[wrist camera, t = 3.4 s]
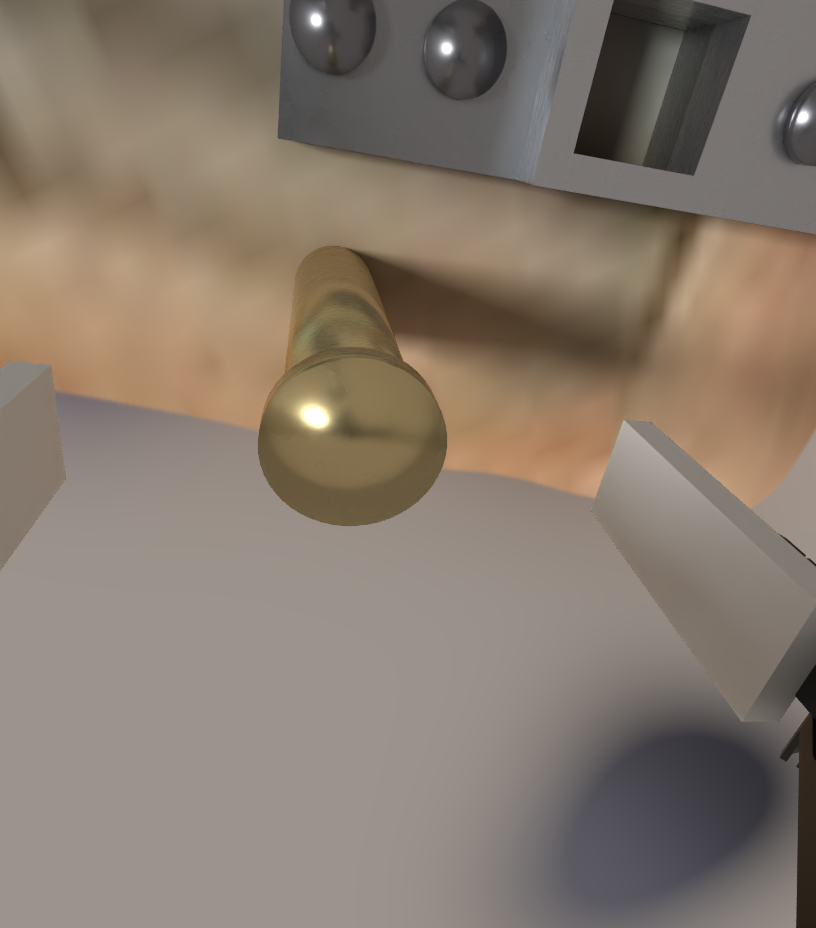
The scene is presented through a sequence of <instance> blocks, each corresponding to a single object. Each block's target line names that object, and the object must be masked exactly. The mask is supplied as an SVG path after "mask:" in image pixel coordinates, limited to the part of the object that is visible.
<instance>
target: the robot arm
mask: <svg viewBox="0 0 816 928" xmlns="http://www.w3.org/2000/svg"><path fill="white" fill-rule="evenodd" d="M65 480H66V474H65V466H64V459H63V451H62V444H61V436H60V429H59V422H58V414H57V407H56V400H55V392H54V384H53V377H52V370H51V365H46V364H35V363H25V362H14V361H9V362H8V363H7V364H6V365H4V366H3V367H2V368H0V570H1V569H2V568H3V566H4V565H5V563H6V562H7V561H8V559H9V558H10V556H11V555H12V554H13V552H14V551H15V549H16V548H17V547H18V545H19V544H20V542H21V541H22V540H23V538H24V537H25V535H26V534H27V533H28V531H29V530H30V528H31V527H32V526H33V524H34V523H35V521H36V520H37V519H38V517H39V516H40V515H41V513H42V512H43V510H44V509H45V508H46V506H47V505H48V503H49V502H50V500H51V499H52V498H53V496H54V495H55V494H56V492H57V491H58V489H59V488H60V487H61V485H62V484H63V482H64V481H65ZM591 512H592V514H593V515H594V516H595V518H596V519H597V521H598V522H599V523H600V525H601V526H602V528H603V529H604V530H605V532H606V533H607V534H608V536H609V537H610V539H611V540H612V542H613V543H614V544H615V546H616V547H617V549H618V550H619V551H620V553H621V554H622V556H623V557H624V558H625V560H626V561H627V562H628V564H629V565H630V566H631V568H632V569H633V571H634V572H635V574H636V575H637V576H638V578H639V579H640V581H641V582H642V583H643V585H644V586H645V588H646V589H647V590H648V592H649V593H650V594H651V596H652V597H653V599H654V600H655V602H656V603H657V604H658V606H659V607H660V608H661V609H662V611H663V613H664V614H665V616H666V617H667V618H668V620H669V621H670V622H671V624H672V625H673V627H674V628H675V629H676V631H677V632H678V634H679V635H680V636H681V638H682V639H683V641H684V642H685V643H686V645H687V646H688V648H689V649H690V650H691V652H692V653H693V654H694V656H695V657H696V659H697V660H698V662H699V663H700V664H701V666H702V667H703V669H704V670H705V671H706V673H707V674H708V676H709V677H710V678H711V680H712V681H713V682H714V684H715V685H716V686H717V688H718V689H719V691H720V692H721V694H722V695H723V696H724V698H725V699H726V701H727V702H728V703H729V705H730V706H731V708H732V709H733V710H734V712H735V713H736V715H737V716H738V717H739V719H740V720H741V721H742V722H764V721H766V722H768V721H780V719H781V718H782V716H783V715H784V713H785V712H786V710H787V709H788V707H789V706H790V704H791V703H792V702H793V700H794V699H795V697H797V698H798V700H799V701H800V702H801V703H802V704H803V705H804V707H805V708H806V709H807V710H808V711H809V714H808V716H807V717H806V718H805V720H804V721H803V722H802V724H801V725H800V727H799V728H798V730H797V731H796V732H795V734H794V735H793V737H792V738H791V739H790V741H789V742H788V744H787V745H786V747H785V748H784V749H783V751H782V753H781V756H780V758H781V759H783V760H785V761H787V760H788V759H789V757H790V756H791V755H792V754H793V753H798V752H799V763H798V764H797V766H796V767H798V768H799V796H798V857H797V858H798V859H797V917H796V918H797V919H796V928H816V564H815V563H814V562H813V561H812V560H811V559H809V558H806V557H805V556H806V555H805V554H804V553H803V552H801V551H800V550H799V549H798V548H797V547H795V546H794V545H793V544H792V543H791V542H790V541H789V540H788V539H786V538H785V537H783V536H782V535H780V534H778V533H777V532H776V531H774V530H773V529H772V528H771V527H770V526H769V525H768V524H767V523H765V522H764V521H763V520H762V519H761V518H760V517H759V516H757V515H756V514H755V513H754V512H753V511H752V510H751V509H749V508H748V507H747V506H746V505H745V504H744V503H743V502H741V501H740V500H739V499H738V498H737V497H736V496H735V495H734V494H732V493H731V492H730V491H729V490H728V489H727V488H726V487H724V486H723V485H722V484H721V483H720V482H719V481H718V480H716V479H715V478H714V477H713V476H712V475H711V474H710V473H708V472H707V471H706V470H705V469H704V468H703V467H702V466H700V465H699V464H698V463H697V462H696V461H695V460H694V459H692V458H691V457H690V456H689V455H688V454H687V453H686V452H685V451H683V450H682V449H681V448H680V447H679V446H678V445H677V444H675V443H674V442H673V441H672V440H671V439H670V438H669V437H667V436H666V435H665V434H664V433H663V432H662V431H661V430H659V429H658V428H657V427H656V426H655V425H654V424H653V423H651V422H642V421H632V420H624V421H623V423H622V426H621V429H620V432H619V434H618V437H617V440H616V443H615V445H614V448H613V451H612V454H611V456H610V459H609V462H608V465H607V467H606V470H605V473H604V476H603V478H602V481H601V484H600V487H599V489H598V492H597V495H596V498H595V500H594V503H593V506H592V509H591Z"/></svg>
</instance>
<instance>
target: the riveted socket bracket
mask: <svg viewBox="0 0 816 928" xmlns="http://www.w3.org/2000/svg"><path fill="white" fill-rule="evenodd" d="M610 13H615V14H619V15H623V16H627V17H631V18H635V19H639V20H643V21H647V22H652V23H656V24H660V25H664V26H668V27H672V28H676V29H680V30H685V34H684V37H683V41H682V44H681V47H680V50H679V53H678V56H677V60H676V63H675V66H674V69H673V72H672V75H671V78H670V82H669V85H668V88H667V91H666V94H665V97H664V101H663V104H662V107H661V110H660V113H659V116H658V119H657V123H656V126H655V129H654V132H653V135H652V138H651V142H650V145H649V148H648V151H647V154H646V157H645V161H644V164H643V166H638V165H633V164H627V163H622V162H617V161H611V160H606V159H601V158H595V157H590V156H585V155H580V154H574V149H575V145H576V142H577V138H578V134H579V130H580V126H581V123H582V119H583V115H584V111H585V107H586V104H587V100H588V96H589V92H590V88H591V85H592V81H593V77H594V73H595V69H596V66H597V62H598V58H599V54H600V50H601V47H602V43H603V39H604V35H605V31H606V28H607V24H608V20H609V16H610ZM278 138H279V139H285V140H291V141H296V142H302V143H308V144H313V145H319V146H325V147H331V148H336V149H342V150H348V151H353V152H359V153H365V154H371V155H376V156H382V157H388V158H393V159H399V160H405V161H411V162H416V163H422V164H428V165H433V166H439V167H445V168H451V169H456V170H462V171H468V172H473V173H479V174H485V175H491V176H496V177H502V178H508V179H513V180H518V181H521V182H524V183H528V184H531V185H535V186H541V187H547V188H552V189H558V190H564V191H570V192H575V193H581V194H587V195H593V196H598V197H604V198H610V199H616V200H621V201H627V202H633V203H638V204H644V205H650V206H656V207H661V208H667V209H673V210H679V211H684V212H690V213H696V214H702V215H707V216H713V217H719V218H725V219H730V220H736V221H742V222H748V223H753V224H759V225H765V226H771V227H776V228H782V229H788V230H793V231H799V232H805V233H811V234H816V0H284V12H283V34H282V56H281V77H280V99H279V120H278Z"/></svg>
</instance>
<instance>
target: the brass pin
mask: <svg viewBox="0 0 816 928" xmlns="http://www.w3.org/2000/svg"><path fill="white" fill-rule="evenodd" d="M446 449H447V432H446V425H445V421H444V418H443V415H442V412H441V410H440V408H439V405H438V403H437V401H436V399H435V397H434V394H433V392H432V390H431V389H430V387H429V386H428V384H427V383H426V381H425V380H424V379H423V378H422V376H421V375H420V374H419V373H418V372H417V371H416V370H415V369H413V368H412V367H411V366H410V365H409V364H407V363H405V362H404V361H403V359H402V356H401V354H400V351H399V348H398V345H397V343H396V340H395V337H394V335H393V332H392V329H391V327H390V324H389V321H388V318H387V316H386V313H385V310H384V308H383V305H382V302H381V299H380V297H379V294H378V291H377V289H376V286H375V283H374V281H373V278H372V275H371V272H370V270H369V268H368V266H367V265H366V263H365V262H364V261H363V259H362V258H361V257H360V256H359V255H357V254H356V253H354V252H353V251H351V250H349V249H346V248H344V247H339V246H327V247H322V248H319V249H317V250H315V251H313V252H311V253H310V254H309V255H308V256H307V257H305V259H304V260H303V261H302V262H301V264H300V266H299V268H298V270H297V273H296V277H295V285H294V294H293V303H292V312H291V321H290V330H289V339H288V348H287V357H286V366H285V374H284V375H283V376H282V377H281V378H280V380H279V381H278V382H277V383H276V384H275V386H274V388H273V389H272V391H271V392H270V394H269V396H268V398H267V401H266V403H265V406H264V409H263V413H262V418H261V424H260V429H259V438H258V454H259V460H260V465H261V467H262V470H263V473H264V475H265V477H266V479H267V481H268V483H269V485H270V486H271V488H272V489H273V490H274V492H275V493H276V494H277V495H278V496H279V497H280V498H281V499H282V500H283V501H284V502H285V503H286V504H287V505H289V506H290V507H291V508H293V509H294V510H296V511H297V512H299V513H300V514H303V515H305V516H307V517H309V518H311V519H314V520H317V521H320V522H323V523H328V524H333V525H341V526H358V525H367V524H372V523H377V522H380V521H383V520H386V519H389V518H391V517H394V516H396V515H398V514H400V513H401V512H403V511H405V510H407V509H408V508H410V507H411V506H412V505H414V504H415V503H416V502H418V501H419V500H420V498H422V497H423V496H424V495H425V494H426V493H427V492H428V490H429V489H430V488H431V486H432V485H433V484H434V482H435V480H436V479H437V477H438V475H439V473H440V471H441V469H442V466H443V463H444V460H445V456H446Z"/></svg>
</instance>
